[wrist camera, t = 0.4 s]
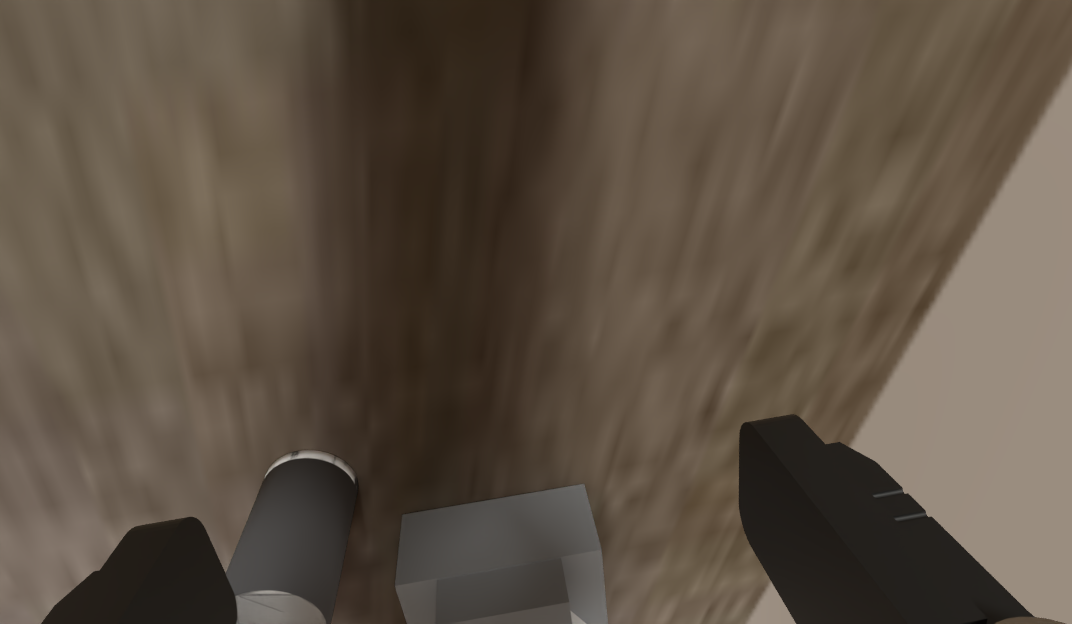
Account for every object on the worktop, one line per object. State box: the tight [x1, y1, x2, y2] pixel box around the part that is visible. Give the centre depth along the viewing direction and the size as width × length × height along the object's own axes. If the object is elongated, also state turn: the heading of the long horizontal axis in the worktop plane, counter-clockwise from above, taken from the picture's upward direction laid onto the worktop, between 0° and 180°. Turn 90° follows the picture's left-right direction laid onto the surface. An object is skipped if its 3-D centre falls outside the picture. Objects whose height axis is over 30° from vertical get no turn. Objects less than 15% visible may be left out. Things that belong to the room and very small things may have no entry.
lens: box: [226, 450, 358, 624], centre depth 27 cm, size 5×5×8 cm
